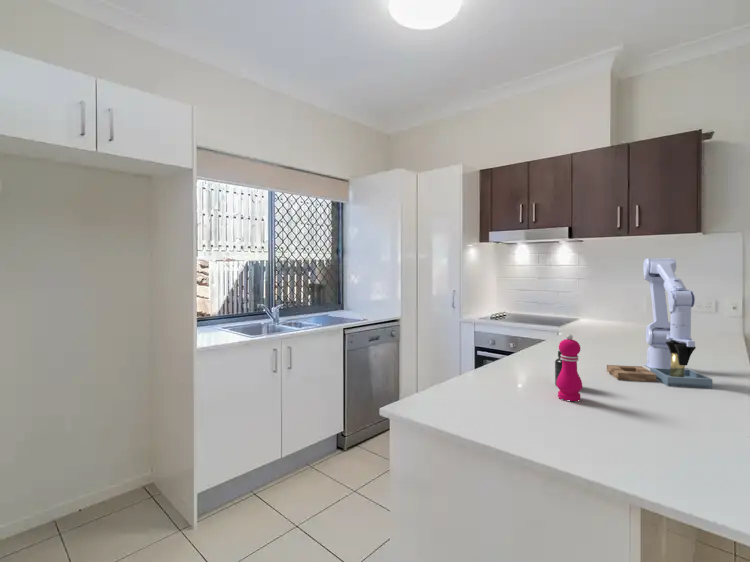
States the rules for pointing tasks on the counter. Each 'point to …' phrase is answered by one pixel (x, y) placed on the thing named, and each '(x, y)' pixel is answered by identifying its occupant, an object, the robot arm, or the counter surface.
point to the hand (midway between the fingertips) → (679, 363)
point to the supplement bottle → (558, 366)
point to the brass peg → (676, 367)
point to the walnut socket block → (631, 373)
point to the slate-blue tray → (682, 378)
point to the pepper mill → (569, 370)
